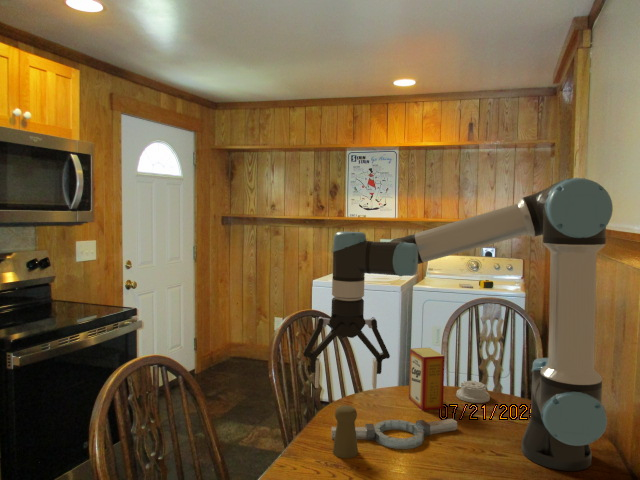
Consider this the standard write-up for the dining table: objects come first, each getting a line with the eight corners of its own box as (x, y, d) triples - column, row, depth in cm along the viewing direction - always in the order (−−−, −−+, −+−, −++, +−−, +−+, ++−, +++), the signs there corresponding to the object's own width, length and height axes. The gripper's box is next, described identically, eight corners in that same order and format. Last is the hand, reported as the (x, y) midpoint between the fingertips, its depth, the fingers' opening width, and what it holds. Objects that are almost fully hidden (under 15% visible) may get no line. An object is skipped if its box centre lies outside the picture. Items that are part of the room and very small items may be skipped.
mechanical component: (457, 402, 155) (491, 405, 153) (457, 388, 155) (492, 391, 153) (455, 391, 165) (487, 393, 163) (455, 377, 165) (488, 380, 163)
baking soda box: (408, 398, 157) (410, 347, 156) (428, 397, 159) (429, 346, 158) (422, 410, 148) (424, 356, 147) (443, 408, 150) (444, 354, 149)
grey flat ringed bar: (454, 426, 137) (455, 416, 137) (469, 449, 124) (470, 438, 124) (330, 425, 137) (330, 415, 137) (332, 448, 124) (332, 437, 124)
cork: (327, 453, 121) (328, 408, 121) (341, 444, 126) (342, 400, 126) (349, 460, 118) (350, 414, 117) (362, 450, 123) (363, 406, 122)
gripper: (398, 295, 124) (395, 381, 125) (295, 293, 124) (293, 380, 125) (403, 301, 116) (400, 393, 118) (293, 299, 116) (292, 391, 117)
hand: (345, 386), depth 121 cm, fingers open, 13 cm apart
